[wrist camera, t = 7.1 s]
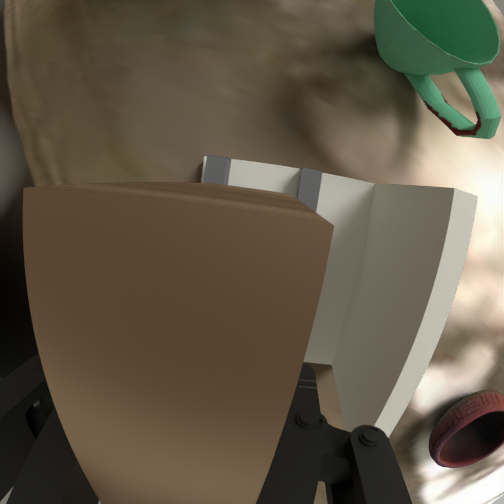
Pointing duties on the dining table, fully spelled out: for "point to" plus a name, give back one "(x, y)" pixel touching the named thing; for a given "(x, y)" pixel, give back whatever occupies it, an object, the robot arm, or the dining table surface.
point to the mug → (442, 54)
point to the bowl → (469, 430)
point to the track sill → (373, 278)
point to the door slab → (172, 329)
